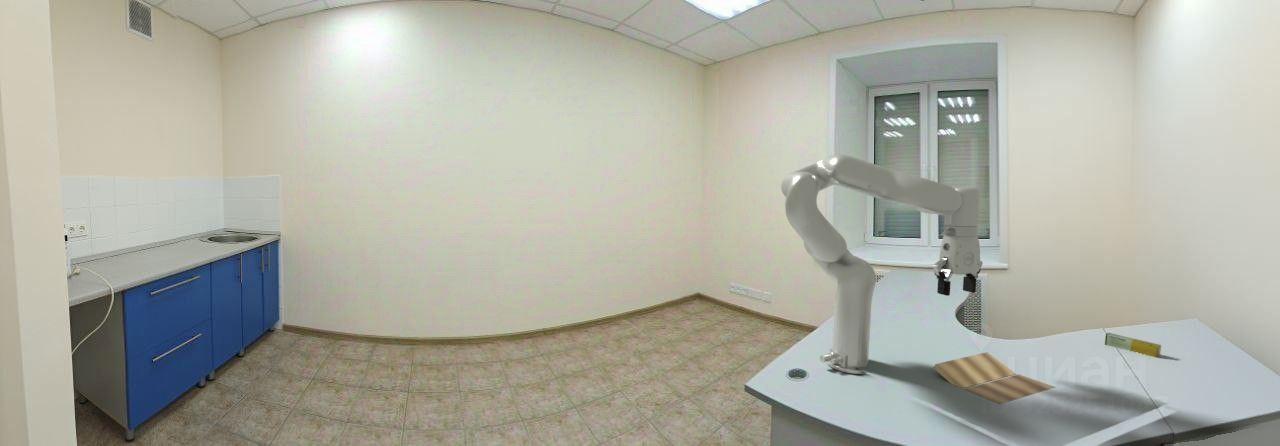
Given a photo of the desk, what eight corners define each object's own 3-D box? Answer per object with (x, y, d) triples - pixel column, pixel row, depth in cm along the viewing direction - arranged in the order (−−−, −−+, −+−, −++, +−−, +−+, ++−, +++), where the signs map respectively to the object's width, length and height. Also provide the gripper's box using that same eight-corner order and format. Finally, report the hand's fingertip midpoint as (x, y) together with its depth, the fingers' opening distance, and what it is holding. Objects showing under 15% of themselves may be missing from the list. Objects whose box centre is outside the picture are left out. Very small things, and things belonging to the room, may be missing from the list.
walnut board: (998, 410, 105) (999, 403, 104) (963, 394, 112) (963, 389, 112) (1054, 392, 113) (1055, 386, 113) (1018, 379, 121) (1018, 374, 121)
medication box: (1103, 345, 147) (1104, 333, 147) (1107, 343, 148) (1108, 332, 148) (1157, 358, 136) (1158, 346, 136) (1160, 357, 137) (1162, 344, 137)
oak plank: (960, 391, 113) (963, 387, 112) (933, 367, 119) (935, 363, 119) (1012, 377, 121) (1015, 373, 121) (984, 355, 128) (987, 352, 127)
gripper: (950, 234, 117) (946, 299, 118) (997, 232, 122) (992, 293, 124) (924, 231, 124) (920, 292, 125) (969, 229, 129) (965, 287, 131)
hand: (956, 293), depth 125 cm, fingers open, 9 cm apart
